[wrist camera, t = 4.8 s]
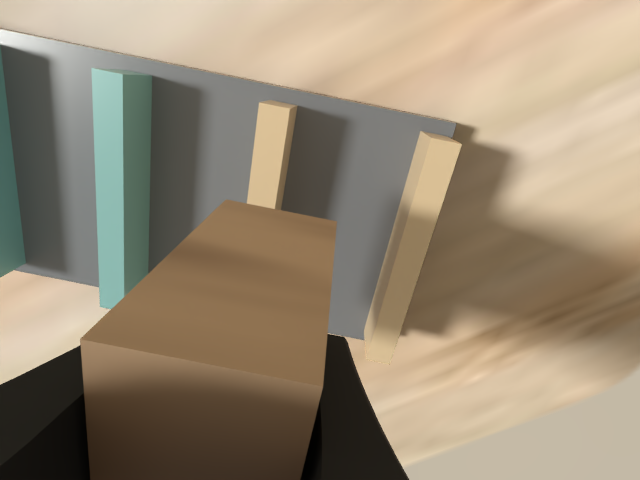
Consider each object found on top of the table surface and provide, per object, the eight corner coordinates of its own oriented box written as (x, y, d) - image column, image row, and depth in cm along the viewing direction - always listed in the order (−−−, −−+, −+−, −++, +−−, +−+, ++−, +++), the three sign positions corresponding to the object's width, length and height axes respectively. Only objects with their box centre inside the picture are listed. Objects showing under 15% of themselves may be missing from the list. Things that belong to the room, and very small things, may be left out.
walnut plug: (305, 367, 12) (269, 607, 7) (211, 349, 12) (97, 574, 7) (336, 221, 10) (323, 387, 5) (225, 199, 10) (79, 340, 5)
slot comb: (384, 331, 19) (391, 374, 16) (18, 258, 19) (-40, 289, 16) (449, 120, 15) (473, 129, 12) (-11, 25, 15) (-95, 12, 12)
